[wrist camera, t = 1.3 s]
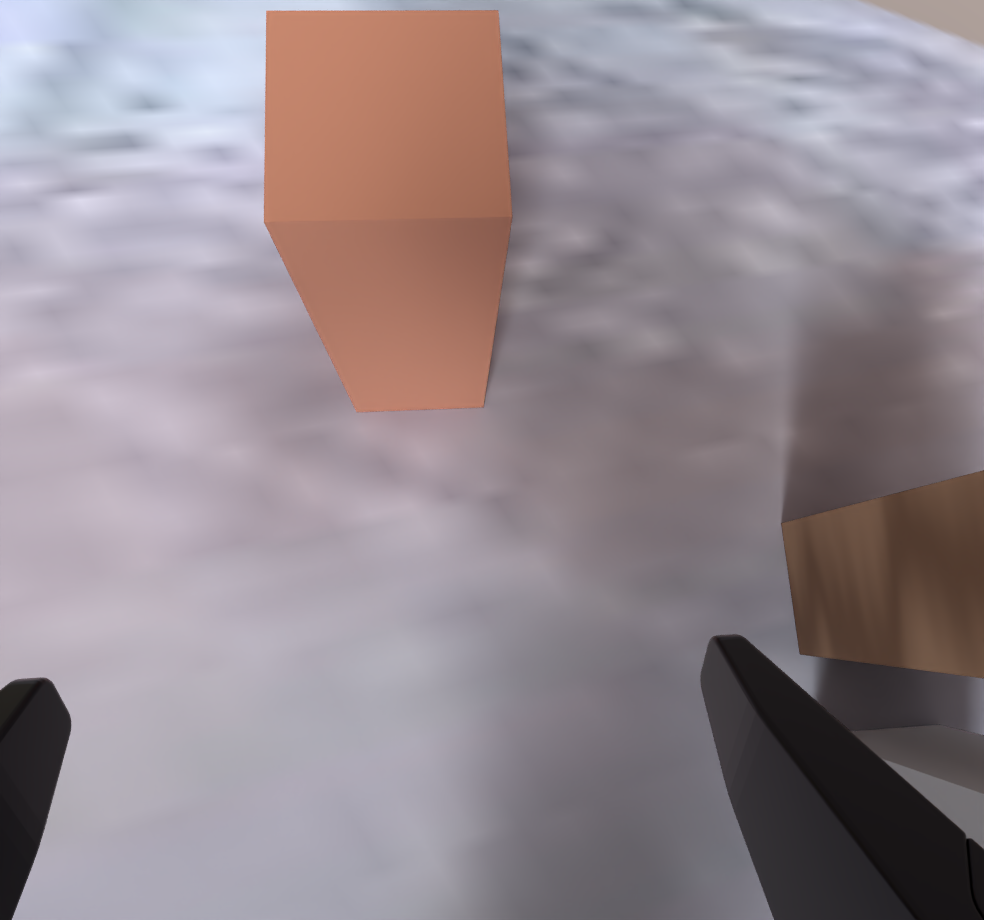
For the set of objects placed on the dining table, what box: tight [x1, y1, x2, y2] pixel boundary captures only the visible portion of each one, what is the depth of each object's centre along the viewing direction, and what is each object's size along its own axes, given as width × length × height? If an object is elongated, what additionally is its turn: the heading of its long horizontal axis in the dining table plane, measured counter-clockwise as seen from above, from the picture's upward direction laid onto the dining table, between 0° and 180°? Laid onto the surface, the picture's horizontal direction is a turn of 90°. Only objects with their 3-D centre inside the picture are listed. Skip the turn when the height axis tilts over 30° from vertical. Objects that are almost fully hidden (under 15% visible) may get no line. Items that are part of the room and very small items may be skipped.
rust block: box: [264, 10, 512, 412], centre depth 19 cm, size 4×4×12 cm
